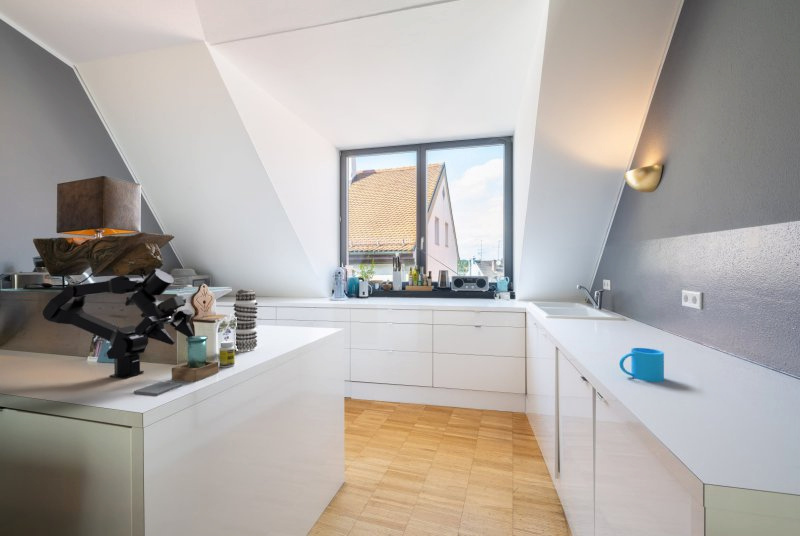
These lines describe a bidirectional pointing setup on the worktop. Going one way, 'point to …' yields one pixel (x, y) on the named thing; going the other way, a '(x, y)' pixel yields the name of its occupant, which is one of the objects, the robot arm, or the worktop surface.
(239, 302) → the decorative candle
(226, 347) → the supplement bottle
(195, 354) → the teal glass jar
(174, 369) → the wooden tray
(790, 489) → the worktop surface
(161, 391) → the mat
